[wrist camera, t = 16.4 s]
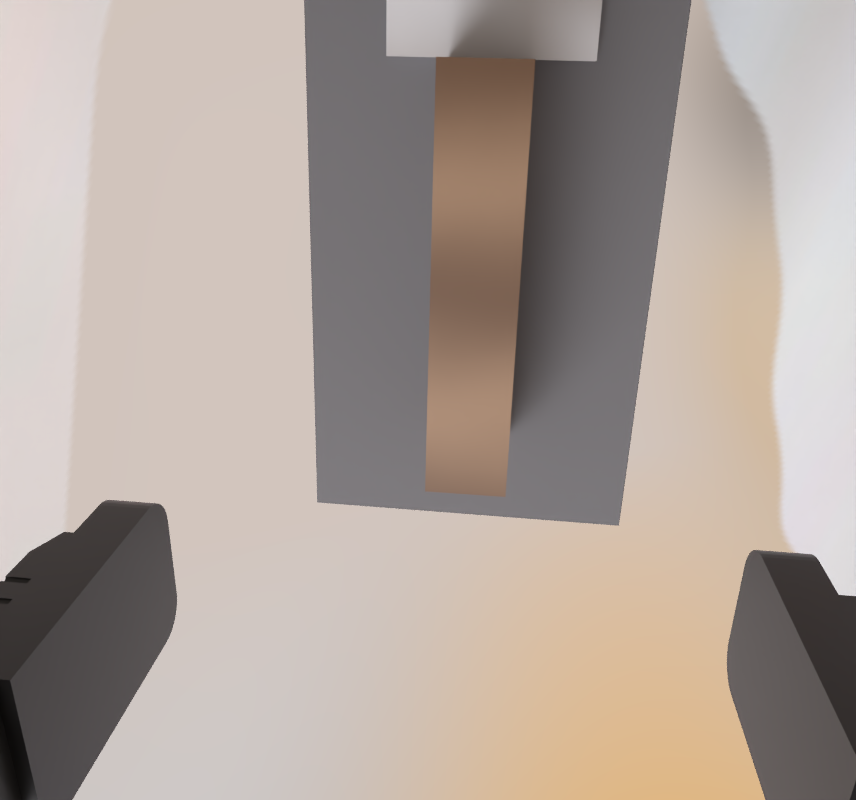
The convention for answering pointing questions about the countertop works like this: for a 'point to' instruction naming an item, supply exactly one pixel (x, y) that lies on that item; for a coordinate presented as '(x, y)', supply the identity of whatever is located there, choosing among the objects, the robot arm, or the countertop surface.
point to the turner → (480, 210)
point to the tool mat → (540, 268)
